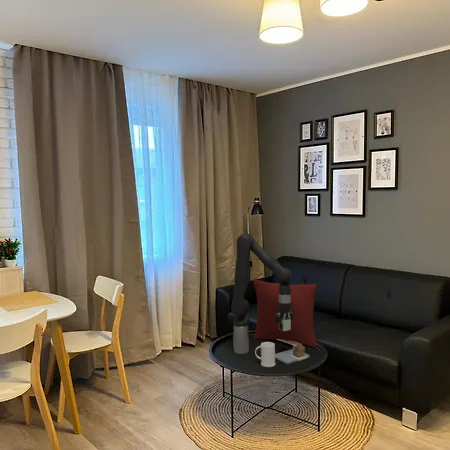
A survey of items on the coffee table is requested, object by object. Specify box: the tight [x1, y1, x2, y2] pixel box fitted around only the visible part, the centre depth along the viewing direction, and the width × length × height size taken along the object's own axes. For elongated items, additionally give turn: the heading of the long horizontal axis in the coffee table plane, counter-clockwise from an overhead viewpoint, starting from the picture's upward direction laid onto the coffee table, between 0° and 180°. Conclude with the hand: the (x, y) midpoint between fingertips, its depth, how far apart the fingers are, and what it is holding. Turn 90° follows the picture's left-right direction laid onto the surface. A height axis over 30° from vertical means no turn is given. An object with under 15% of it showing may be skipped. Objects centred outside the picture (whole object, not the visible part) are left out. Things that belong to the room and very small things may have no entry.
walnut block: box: [292, 343, 306, 358], centre depth 264 cm, size 5×5×6 cm
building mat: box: [275, 348, 311, 365], centre depth 265 cm, size 14×18×1 cm
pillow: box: [252, 278, 318, 349], centre depth 288 cm, size 44×15×42 cm, turn 65°
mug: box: [254, 341, 276, 368], centre depth 256 cm, size 12×8×12 cm
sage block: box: [279, 318, 291, 331], centre depth 267 cm, size 5×5×6 cm
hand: (284, 328), depth 267 cm, fingers closed on sage block, 5 cm apart
